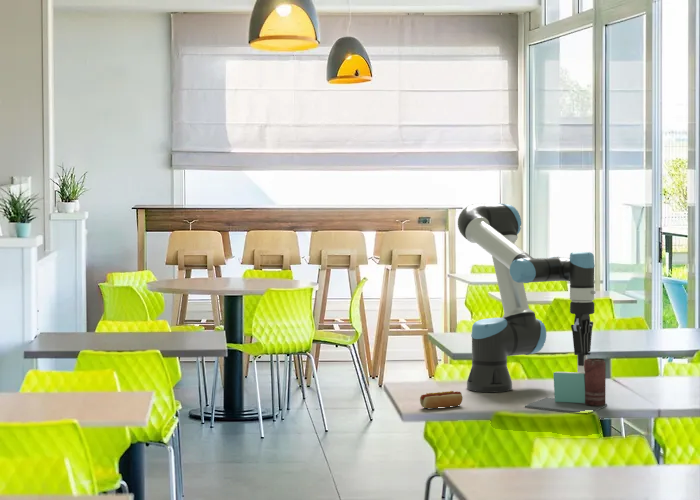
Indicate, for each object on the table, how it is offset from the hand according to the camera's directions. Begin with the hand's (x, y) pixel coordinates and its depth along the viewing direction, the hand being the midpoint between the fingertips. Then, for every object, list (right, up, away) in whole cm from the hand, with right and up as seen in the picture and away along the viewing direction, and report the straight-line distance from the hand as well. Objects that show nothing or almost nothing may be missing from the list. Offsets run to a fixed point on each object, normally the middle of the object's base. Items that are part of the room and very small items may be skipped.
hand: (582, 375), depth 337 cm
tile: (-5, -7, -7) cm, 11 cm away
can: (+1, -8, -11) cm, 14 cm away
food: (-45, -9, -10) cm, 47 cm away
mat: (-7, -8, -10) cm, 15 cm away
